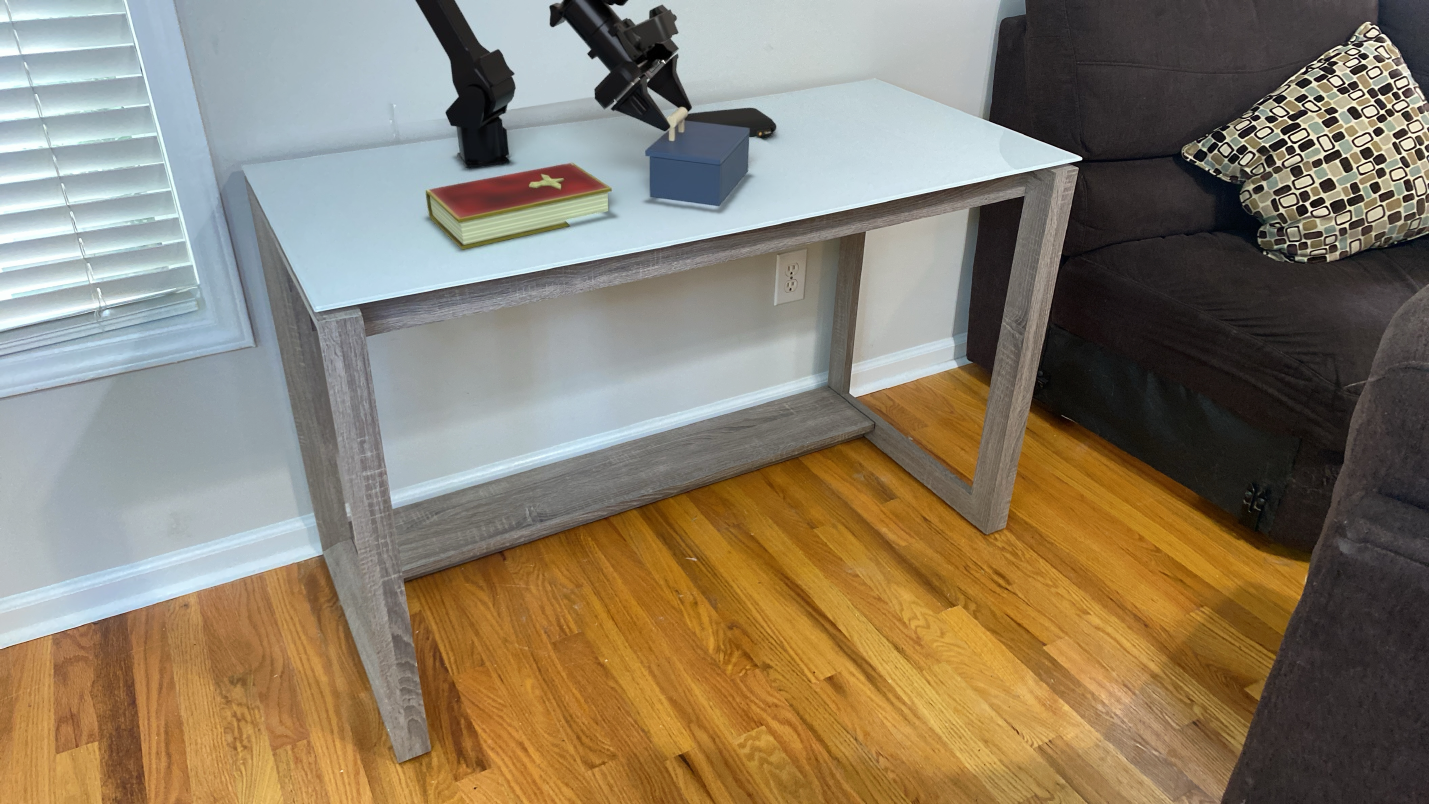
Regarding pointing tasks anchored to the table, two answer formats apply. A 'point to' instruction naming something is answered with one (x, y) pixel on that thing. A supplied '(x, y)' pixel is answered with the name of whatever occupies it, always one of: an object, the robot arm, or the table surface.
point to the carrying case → (738, 120)
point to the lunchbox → (698, 177)
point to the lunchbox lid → (696, 140)
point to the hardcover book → (515, 204)
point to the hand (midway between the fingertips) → (679, 119)
